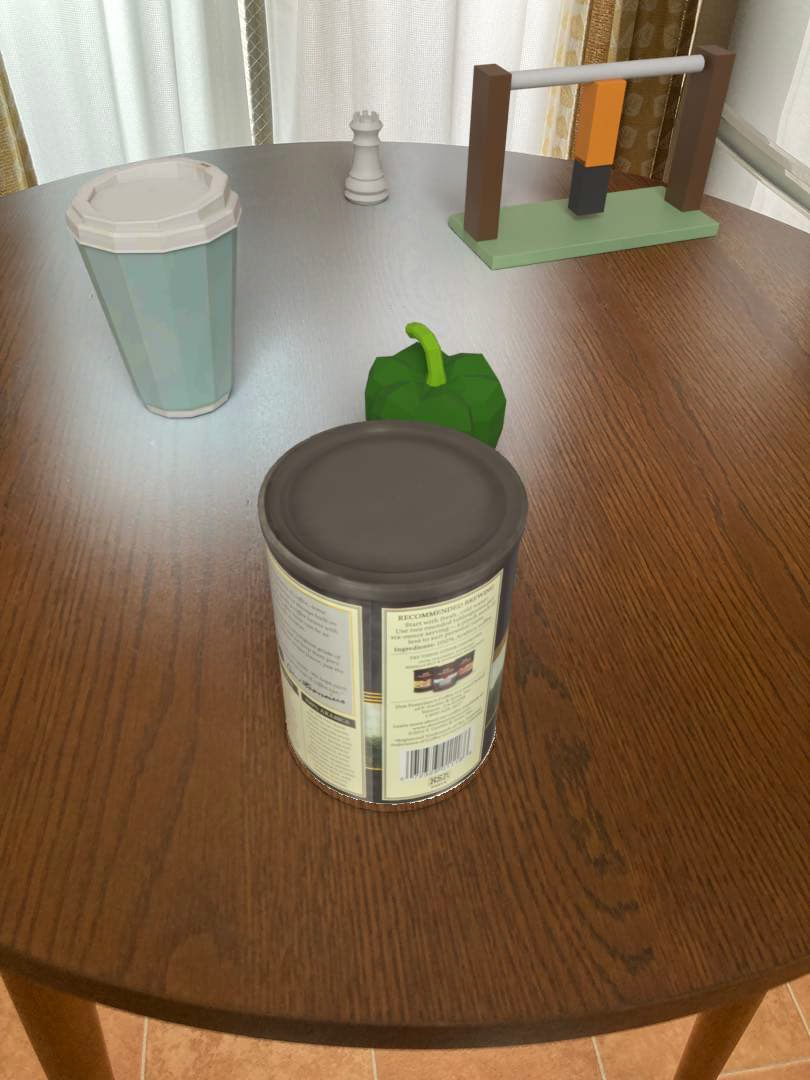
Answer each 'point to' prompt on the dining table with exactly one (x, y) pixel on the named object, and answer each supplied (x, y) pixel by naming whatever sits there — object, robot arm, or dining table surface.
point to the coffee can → (392, 602)
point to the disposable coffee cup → (165, 276)
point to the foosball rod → (599, 116)
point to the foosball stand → (627, 213)
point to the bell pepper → (436, 388)
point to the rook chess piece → (366, 162)
